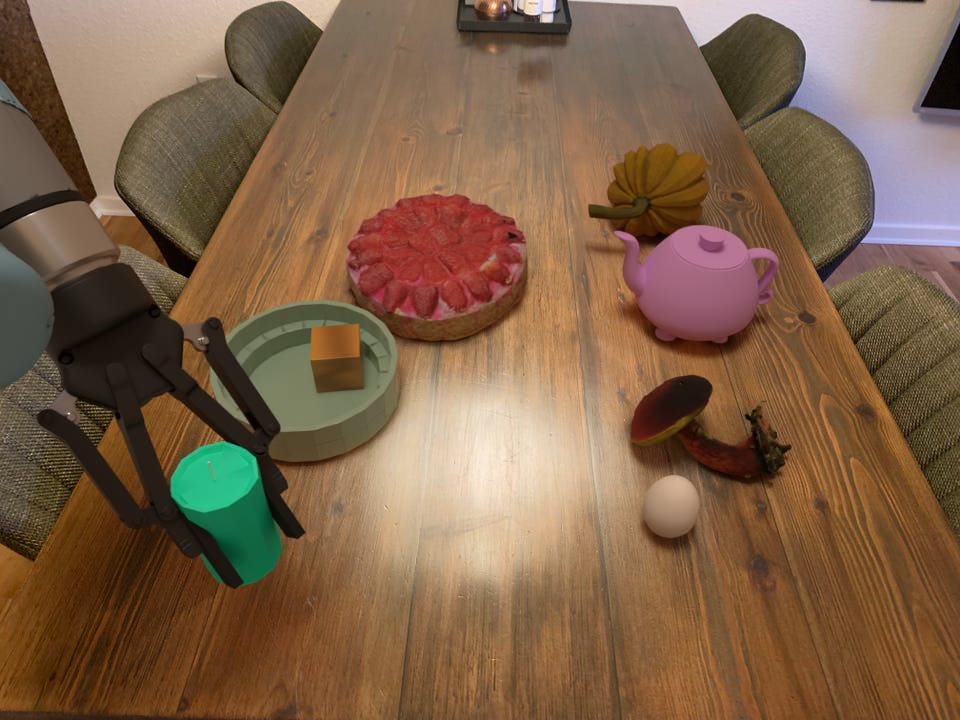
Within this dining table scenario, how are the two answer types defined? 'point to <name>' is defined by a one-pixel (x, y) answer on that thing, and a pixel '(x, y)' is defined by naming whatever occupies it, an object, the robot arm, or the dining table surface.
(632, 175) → the fruit
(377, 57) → the dining table surface
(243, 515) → the candle
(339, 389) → the block
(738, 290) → the teapot
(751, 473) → the mushroom
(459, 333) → the cake
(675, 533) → the egg
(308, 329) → the bowl
